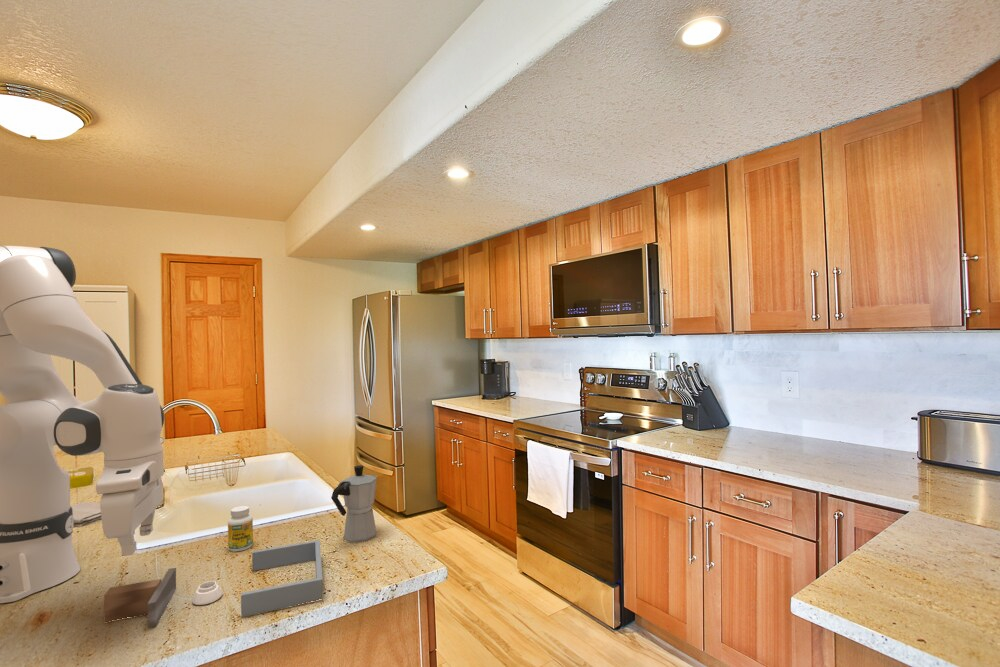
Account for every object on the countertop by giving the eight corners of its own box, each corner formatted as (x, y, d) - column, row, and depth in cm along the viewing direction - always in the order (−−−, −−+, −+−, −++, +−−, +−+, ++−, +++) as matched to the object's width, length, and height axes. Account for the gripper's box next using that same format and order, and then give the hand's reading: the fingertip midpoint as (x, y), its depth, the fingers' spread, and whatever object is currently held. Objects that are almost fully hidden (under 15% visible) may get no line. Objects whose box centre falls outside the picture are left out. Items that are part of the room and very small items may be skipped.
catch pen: (241, 617, 87) (240, 595, 87) (252, 569, 105) (252, 551, 105) (322, 600, 92) (322, 579, 92) (320, 557, 111) (319, 539, 111)
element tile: (93, 477, 184) (93, 465, 184) (92, 486, 172) (91, 473, 172) (40, 485, 174) (39, 472, 174) (34, 495, 163) (34, 481, 163)
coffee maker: (366, 524, 130) (365, 458, 130) (390, 530, 126) (388, 462, 126) (321, 544, 117) (319, 472, 117) (345, 552, 113) (344, 476, 113)
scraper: (91, 641, 81) (91, 611, 81) (121, 599, 94) (120, 574, 94) (155, 627, 84) (155, 599, 84) (176, 589, 97) (175, 565, 97)
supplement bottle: (251, 540, 120) (251, 503, 121) (254, 548, 116) (253, 509, 116) (227, 546, 118) (227, 507, 118) (229, 554, 113) (228, 514, 113)
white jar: (187, 603, 92) (201, 609, 90) (186, 587, 92) (201, 594, 90) (213, 590, 97) (227, 596, 94) (212, 576, 97) (227, 581, 94)
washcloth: (81, 529, 132) (81, 517, 132) (33, 524, 136) (33, 514, 136) (124, 513, 143) (124, 503, 143) (78, 510, 147) (78, 500, 147)
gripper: (133, 460, 98) (136, 527, 98) (91, 487, 79) (94, 571, 79) (170, 455, 100) (173, 521, 100) (137, 481, 81) (140, 562, 81)
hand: (138, 543), depth 89 cm, fingers open, 8 cm apart
